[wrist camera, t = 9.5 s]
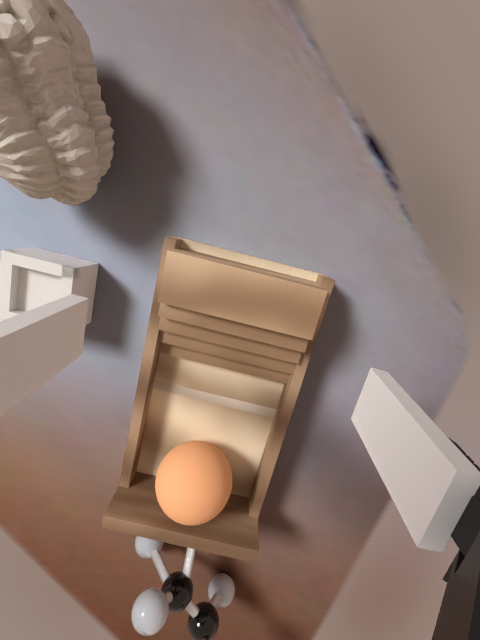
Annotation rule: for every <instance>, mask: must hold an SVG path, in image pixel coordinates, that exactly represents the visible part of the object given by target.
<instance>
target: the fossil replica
mask: <svg viewBox="0 0 480 640" xmlns="http://www.w3.org/2000/svg"><path fill="white" fill-rule="evenodd" d="M93 58H94V57H93V54H92V51H91V48H90V42H89V38H88V36H87V34H86V32H85V30H84V28H83V26H82V24H81V23H80V21H79V20H78V19H77V17H76V16H75V15H74V12H73V10H72V9H71V8H70V7H69V6H68V5H67V4H66V3H65V2H64V0H0V177H2V178H3V179H5V180H7V181H8V182H9V183H11V184H12V185H13V186H15V187H16V188H18V189H19V190H20V191H22V192H23V193H25V194H26V195H27V196H30V197H32V198H38V199H45V198H50V197H52V198H53V199H55V200H57V201H59V202H62V203H64V204H68V205H73V206H74V205H77V204H80V203H82V202H84V201H87V200H89V199H90V198H91V197H92V195H94V194H95V193H96V192H97V188H98V187H97V184H98V183H99V182H100V181H101V179H100V177H102V176H104V175H105V174H106V173H107V169H109V168H110V167H111V162H110V161H111V160H112V157H113V149H112V148H113V145H114V143H115V142H114V140H113V139H112V135H113V133H114V130H113V129H112V128H111V127H110V122H111V118H110V117H109V116H108V115H107V113H106V110H105V108H106V105H105V103H104V102H103V101H102V100H101V86H100V85H99V84H98V81H97V69H96V67H95V66H94V60H93Z"/></svg>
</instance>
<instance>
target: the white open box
mask: <svg viewBox="0 0 480 640" xmlns="http://www.w3.org/2000/svg"><path fill="white" fill-rule="evenodd" d="M98 267H99V263H95V262H91V261H87V260H83V259H79V258H75V257H72V256H68V255H64V254H60V253H56V252H52V251H48V250H44V249H40V248H25V249H10V250H1V263H0V320H2V321H3V320H5V319H8V318H10V317H13V316H16V315H18V314H21V313H24V312H26V311H29V310H31V309H34V308H37V307H39V306H42V305H45V304H47V303H50V302H52V301H55V300H58V299H60V298H63V297H65V296H68V295H71V294H74V295H78V296H82V297H86V298H89V302H88V310H87V318H86V325H87V324H89V323H91V318H92V311H93V304H94V296H95V289H96V282H97V274H98Z"/></svg>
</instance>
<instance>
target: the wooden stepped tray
mask: <svg viewBox="0 0 480 640" xmlns="http://www.w3.org/2000/svg"><path fill="white" fill-rule="evenodd" d="M334 283H335V280H334V279H332V278H330V277H328V276H326V275H324V274H320V273H316V272H312V271H308V270H304V269H301V268H297V267H293V266H289V265H285V264H281V263H277V262H273V261H269V260H265V259H261V258H257V257H254V256H250V255H246V254H242V253H238V252H234V251H230V250H226V249H222V248H218V247H214V246H211V245H207V244H203V243H199V242H195V241H191V240H187V239H183V238H179V237H165V238H164V243H163V249H162V254H161V260H160V265H159V270H158V276H157V281H156V287H155V292H154V298H153V303H152V309H151V314H150V320H149V325H148V330H147V336H146V341H145V347H144V352H143V358H142V363H141V369H140V374H139V379H138V385H137V390H136V396H135V401H134V407H133V412H132V418H131V423H130V429H129V434H128V439H127V445H126V450H125V456H124V461H123V467H122V472H121V478H120V483H119V487H118V489H117V491H116V493H115V494H114V496H113V498H112V500H111V502H110V504H109V506H108V508H107V510H106V512H105V513H104V515H103V521H102V527H101V528H104V529H108V530H112V531H117V532H121V533H126V534H130V535H134V536H139V537H143V538H147V539H152V540H156V541H161V542H165V543H169V544H174V545H178V546H183V547H187V548H191V549H196V550H200V551H205V552H209V553H213V554H218V555H222V556H227V557H231V558H235V559H240V560H244V561H248V562H253V563H255V561H256V558H257V555H258V552H259V540H258V517H259V514H260V511H261V507H262V504H263V501H264V498H265V495H266V492H267V489H268V486H269V483H270V480H271V477H272V474H273V471H274V467H275V464H276V461H277V458H278V455H279V452H280V449H281V446H282V443H283V440H284V437H285V434H286V431H287V428H288V424H289V421H290V418H291V415H292V412H293V409H294V406H295V403H296V400H297V397H298V394H299V391H300V388H301V384H302V381H303V378H304V375H305V372H306V369H307V366H308V363H309V360H310V357H311V354H312V351H313V348H314V344H315V341H316V338H317V335H318V332H319V329H320V326H321V323H322V320H323V317H324V314H325V311H326V308H327V305H328V301H329V298H330V295H331V292H332V289H333V286H334ZM193 440H199V441H205V442H208V443H210V444H212V445H214V446H216V447H217V448H218V449H219V450H220V451H221V452H222V453H223V454H224V455H225V457H226V458H227V460H228V462H229V465H230V467H231V472H232V489H231V494H230V497H229V499H228V501H227V503H226V505H225V507H224V508H223V510H222V511H221V512H220V513H219V514H218V515H217V516H216V517H214V518H213V519H212V520H210V521H208V522H206V523H204V524H200V525H193V526H189V525H183V524H180V523H177V522H175V521H174V520H172V519H171V518H169V517H168V516H167V515H166V514H165V513H164V512H163V510H162V508H161V507H160V505H159V503H158V500H157V497H156V491H155V480H156V475H157V471H158V468H159V466H160V464H161V462H162V460H163V459H164V457H165V456H166V455H167V454H168V452H170V451H171V450H172V449H173V448H175V447H176V446H178V445H179V444H182V443H184V442H187V441H193Z"/></svg>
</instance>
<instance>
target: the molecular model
mask: <svg viewBox="0 0 480 640" xmlns="http://www.w3.org/2000/svg"><path fill="white" fill-rule="evenodd" d="M163 543H164V542H161V541H156V540H152V539H147V538H143V537H139V536H136V539H135V550H136V552H137V554H138V555H139V556H140V557H142V558H144V559H150V558H152V560H153V562H154V565H155V567H156V569H157V571H158V574H159V576H160V578H161V580H162V583H163V585H162V588H161V590H160V589H158V588H149V589H146V590H145V591H143V592H142V593H141V594H140V595H139V596H138V597H137V599H136V600H135V602H134V605H133V608H132V623H133V626H134V628H135V630H136V631H137V632H138V633H139V634H141V635H144V636H150V635H153V634H155V633H157V632H158V631H159V630H160V629H161V628H162V627H163V625H164V624H165V622H166V620H167V617H168V612H169V611H170V612H174V613H176V612H180V611H182V610H184V609H185V610H186V611H187V612H188V613H189V618H188V630H189V633H190V635H191V637H192V638H193V640H211V639H212V638H213V637H214V636H215V634H216V632H217V630H218V626H219V616H218V612H217V610H216V607H218V608H224V607H226V606H228V605H229V604H230V603H231V602H232V600H233V598H234V594H235V586H234V582H233V580H232V579H231V577H230V576H229V575H227V574H224V573H219V574H217V575H215V576H214V577H213V578H212V579H211V581H210V583H209V586H208V596H209V599H210V601H209V602H206V601H203V602H200V603H198V604H195V603H194V602H193V600H192V595H193V584H192V581H191V574H192V569H193V563H194V558H195V552H196V549H191V548H187V551H186V557H185V562H184V567H183V572H181V571H177V572H173V573H171V574H170V573H169V571H168V569H167V567H166V564H165V562H164V560H163V558H162V556H161V554H160V551H161V549H162V547H163Z"/></svg>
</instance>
